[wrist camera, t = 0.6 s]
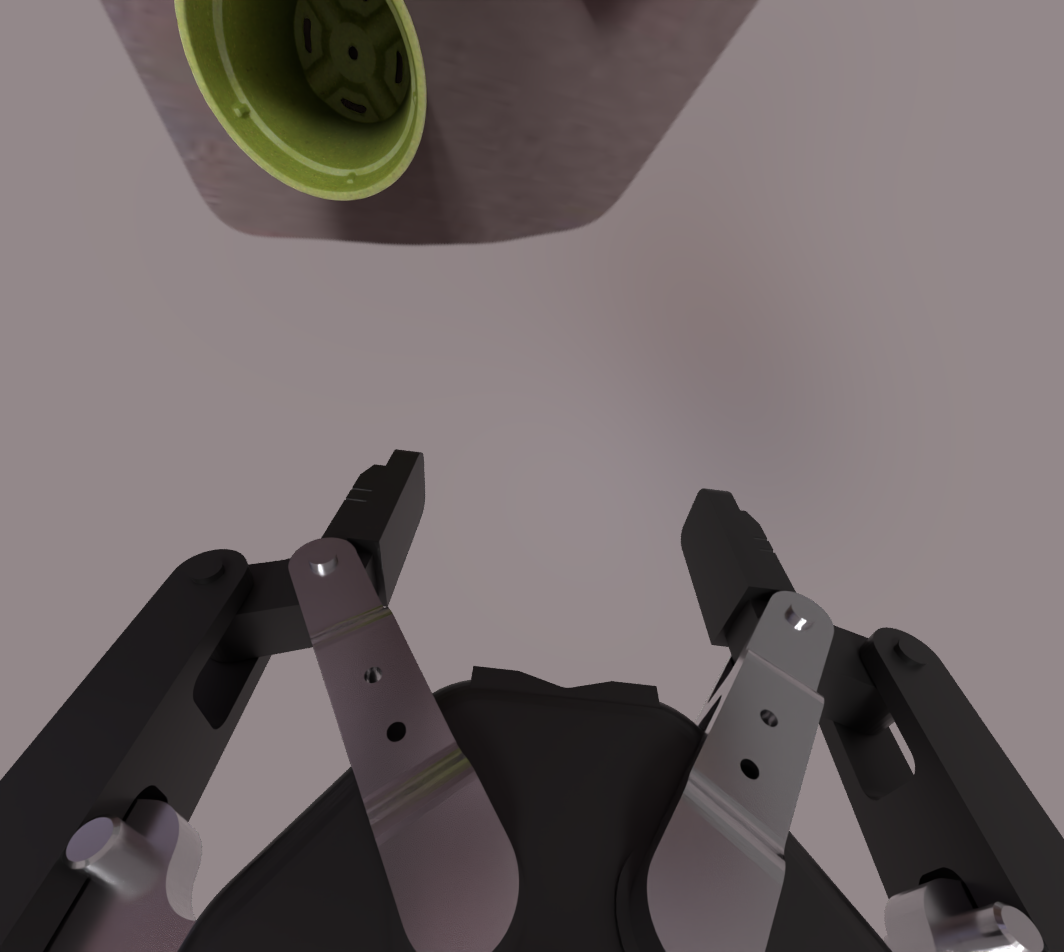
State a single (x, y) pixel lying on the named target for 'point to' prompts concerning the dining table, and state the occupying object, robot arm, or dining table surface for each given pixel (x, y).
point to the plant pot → (312, 87)
